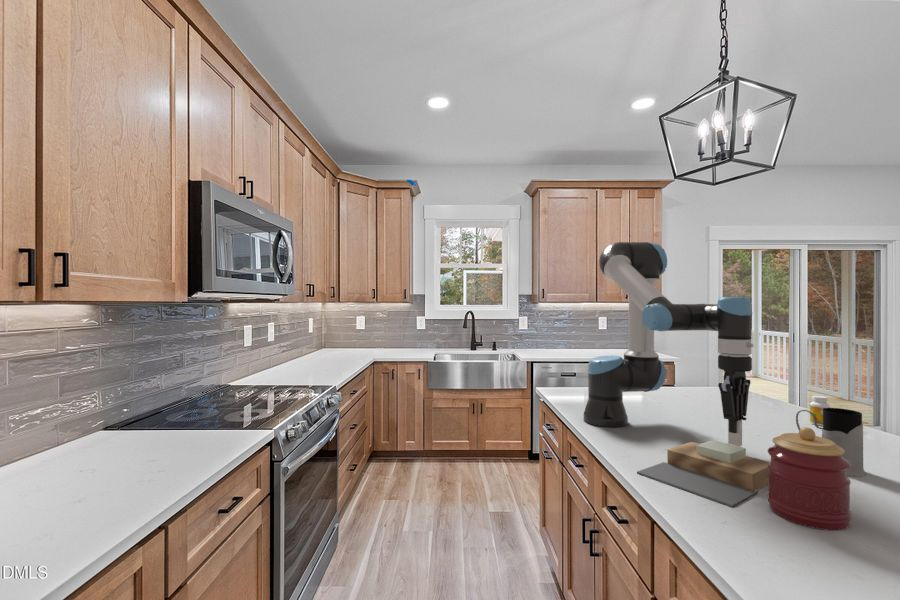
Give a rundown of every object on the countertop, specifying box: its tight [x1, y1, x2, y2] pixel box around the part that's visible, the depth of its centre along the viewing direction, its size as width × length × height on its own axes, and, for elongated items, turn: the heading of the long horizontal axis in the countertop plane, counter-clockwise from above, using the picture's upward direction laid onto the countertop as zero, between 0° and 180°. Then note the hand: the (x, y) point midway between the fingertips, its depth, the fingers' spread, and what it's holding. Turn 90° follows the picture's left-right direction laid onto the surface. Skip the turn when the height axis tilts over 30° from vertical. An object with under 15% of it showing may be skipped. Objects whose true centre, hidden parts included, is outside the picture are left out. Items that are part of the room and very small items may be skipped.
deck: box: [666, 441, 771, 491], centre depth 111 cm, size 20×12×4 cm, turn 33°
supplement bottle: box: [809, 395, 831, 427], centre depth 154 cm, size 5×5×10 cm
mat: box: [636, 461, 759, 508], centre depth 104 cm, size 22×12×1 cm, turn 33°
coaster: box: [697, 439, 747, 463], centre depth 111 cm, size 8×8×2 cm
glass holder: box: [795, 407, 867, 478], centre depth 115 cm, size 9×14×15 cm, turn 32°
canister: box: [767, 426, 852, 531], centre depth 88 cm, size 13×13×18 cm
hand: (735, 444), depth 116 cm, fingers closed
